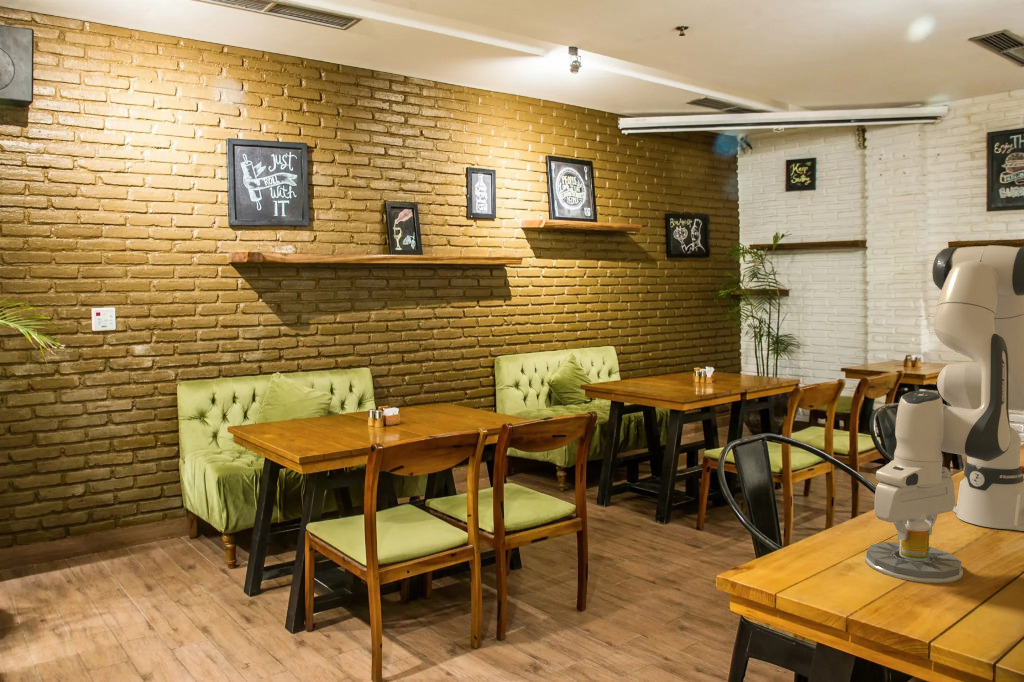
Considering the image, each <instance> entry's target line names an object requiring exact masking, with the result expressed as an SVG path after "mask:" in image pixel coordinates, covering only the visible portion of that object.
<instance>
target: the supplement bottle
mask: <svg viewBox="0 0 1024 682" xmlns="http://www.w3.org/2000/svg"><path fill="white" fill-rule="evenodd" d="M925 520H926V514H922V515H921V516H920V517H918V518H913V519H908V520H907V524H906V525H905V527H906V530H907V531H909V532H910V535H909V537H910V538H909V539H908V540H900V539H899V542H900V546H899V554H900V556H901V557H902V558H904V559H907V560H911V561H926V560H928V557H929V547H930V535H929V530H930V527H929V524H928V523H927V522H925Z"/></svg>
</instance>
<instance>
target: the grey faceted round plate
mask: <svg viewBox="0 0 1024 682" xmlns="http://www.w3.org/2000/svg"><path fill="white" fill-rule="evenodd" d="M899 546H900V541H899V542H897V541H896V542H894V541H884V542H880V543H879V542H878V543H874V544H870V545H869V546H868V549H866V553H865V556H864V561H865V563H866V564H867V566H869V568H871V569H873V570H875V571H876V572H879V573H881V574H882V575H886V576H889V577H892V578H896V579H900V580H904V581H910V582H913V583H915V582H916V583H923V584H948V583H954V582H957V581H959V580H961V579H962V578H963V577H964V575H963V574H964V570H963V567H962V561H961V560H960V559H959V558H957V557H956V556H954V555H953V554H952V553H950V552H947V551H944V550H943V549H939V548H935V547H932V546H929V557H928V560H926V561H911V560H907V559H904V558H902V557H901V556H900V554H899Z"/></svg>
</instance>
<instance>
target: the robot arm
mask: <svg viewBox="0 0 1024 682" xmlns="http://www.w3.org/2000/svg"><path fill="white" fill-rule="evenodd" d="M931 271H932V280H933V283H934V284H935V286H936V287H937V288H938V289H939V290H941V291H940V294H939V297H938V301H937V305H936V309H935V310H936V311H935V312H934V313H935V314H934V319H933V330H934V333H935V335H936V336H937V338H938V340H939V341H940V342H941V343H942V344H944V346H946V347H947V348H948V349H951V350H952V351H954V352H956V353H958V354H960V355H962V356H964V357H967V358H969V359H971V360H974V362H973V361H962V362H954V363H948V364H946V365H945V366H944V367H942V369H941V370H940V371H939V374H938V376H937V379H936V380H937V381H936V387H937V390H938V393H936V392H934V391H929V390H928V391H927V390H917V391H909V392H907V393H905V394H903V395H901V397H900V398H899V403H898V405H897V406H898V407H897V411H896V418H895V426H894V427H895V430H894V435H895V436H894V437H895V438H896V448H895V449H894V453H893V459H892V460H890V462H889V463H887V464H885V465H884V466H882V467H881V468H879V469H877V470H876V471H875V472H876V473H875V479H876V480H877V481H879V482H878V484H876V488H875V492H874V515H875V516H876V518H877V519H878V520H881V521H883V522H887V523H889V524H890V523H893V525H894V526H895V529H896V531H897V532H896V533H897V534H896V537H897V539H898V540H899V541H900V540H908V539H909V538H910V537H909V535H910V532H909V531H907V530H906V527H905V525H906V524H907V520H908V519H913V518H918V517H920V516H921V515H922V514H926V520H925V522H927V523H928V524H929V527H930V530H929V536H932V535H933V527H934V525H935V523H936V521H937V519H938V514H939V515H940V514H943V513H949V512H954V513H955V515H956V518H958V519H960V520H961V521H963V522H966V523H968V524H973V525H975V526H976V525H977V526H981V527H986V528H992V529H1001V530H1013V531H1020V532H1024V465H1020V463H1021V449H1022V448H1021V446H1022V445H1021V444H1022V439H1021V435H1020V434H1019V432H1018V431H1017V430H1016V429H1015V428H1013V427H1012V426H1011V424H1010V414H1009V411H1010V410H1011V411H1019V412H1020V411H1021V412H1024V246H1020V247H1016V246H1015V247H1014V246H1009V245H1008V246H1007V245H989V244H988V245H985V246H983V245H981V246H977V245H975V246H965V247H963V246H962V247H960V246H953V247H947V248H944V249H941V251H940V252H938V253H937V254H936V255H935V258H934V261H933V265H932V269H931ZM943 400H944V401H945V402H947V404H949V405H946V404H945V403H943ZM942 452H944V453H949V454H956V455H962V456H966V460H965V462H964V466H963V475H964V476H965V477H964V478H963V479H962V480H960V483H959V487H958V488H959V489H958V496H957V503H956V492H955V482H954V480H953V479H952V472H951V471H950V469H948V468H947V467H946V466H943V457H944V456H943V454H942Z"/></svg>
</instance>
